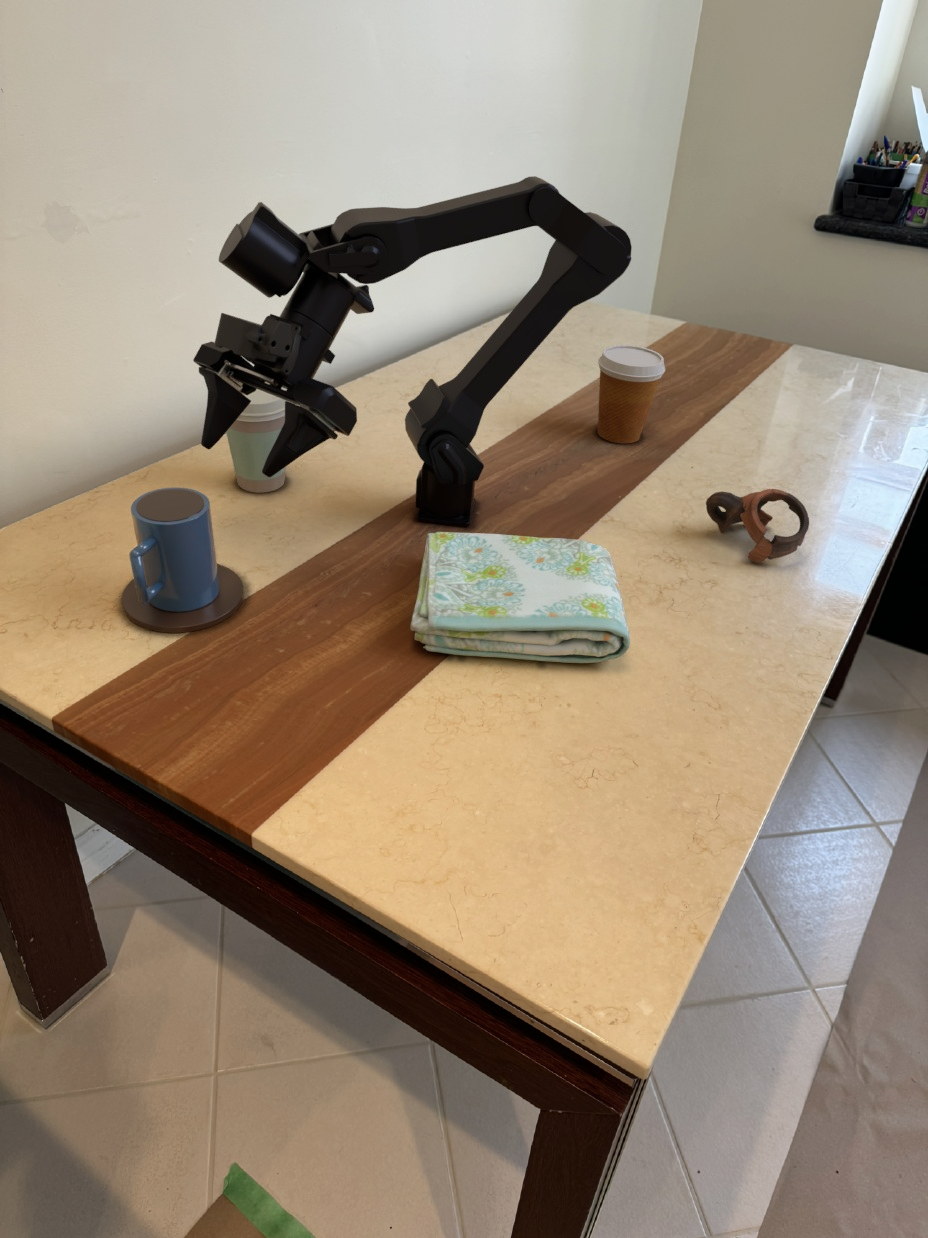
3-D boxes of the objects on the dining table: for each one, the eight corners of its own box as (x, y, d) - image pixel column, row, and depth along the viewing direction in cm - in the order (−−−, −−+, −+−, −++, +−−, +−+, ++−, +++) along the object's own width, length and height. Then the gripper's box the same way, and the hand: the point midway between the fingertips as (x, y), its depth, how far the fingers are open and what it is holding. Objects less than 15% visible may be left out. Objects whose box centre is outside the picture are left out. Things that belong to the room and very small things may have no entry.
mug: (172, 565, 93) (158, 480, 87) (232, 580, 91) (223, 495, 85) (112, 618, 85) (93, 529, 79) (178, 636, 83) (163, 546, 77)
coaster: (259, 573, 94) (258, 567, 94) (221, 640, 85) (220, 634, 84) (151, 559, 95) (150, 554, 94) (101, 624, 85) (100, 618, 85)
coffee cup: (280, 502, 107) (275, 410, 100) (215, 492, 108) (204, 399, 101) (305, 472, 113) (301, 383, 106) (242, 462, 114) (235, 373, 107)
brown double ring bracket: (785, 530, 111) (821, 496, 103) (772, 592, 107) (809, 561, 99) (698, 494, 110) (728, 458, 103) (682, 555, 106) (712, 521, 99)
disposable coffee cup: (579, 439, 127) (591, 359, 120) (596, 416, 135) (609, 339, 128) (642, 454, 125) (659, 372, 118) (656, 429, 132) (673, 351, 125)
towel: (421, 556, 99) (423, 517, 96) (607, 570, 99) (615, 531, 96) (408, 656, 84) (410, 614, 81) (626, 672, 85) (636, 631, 82)
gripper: (195, 258, 86) (118, 397, 85) (331, 300, 77) (246, 455, 76) (264, 321, 96) (195, 446, 95) (391, 365, 87) (317, 503, 86)
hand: (234, 460), depth 88 cm, fingers open, 9 cm apart
